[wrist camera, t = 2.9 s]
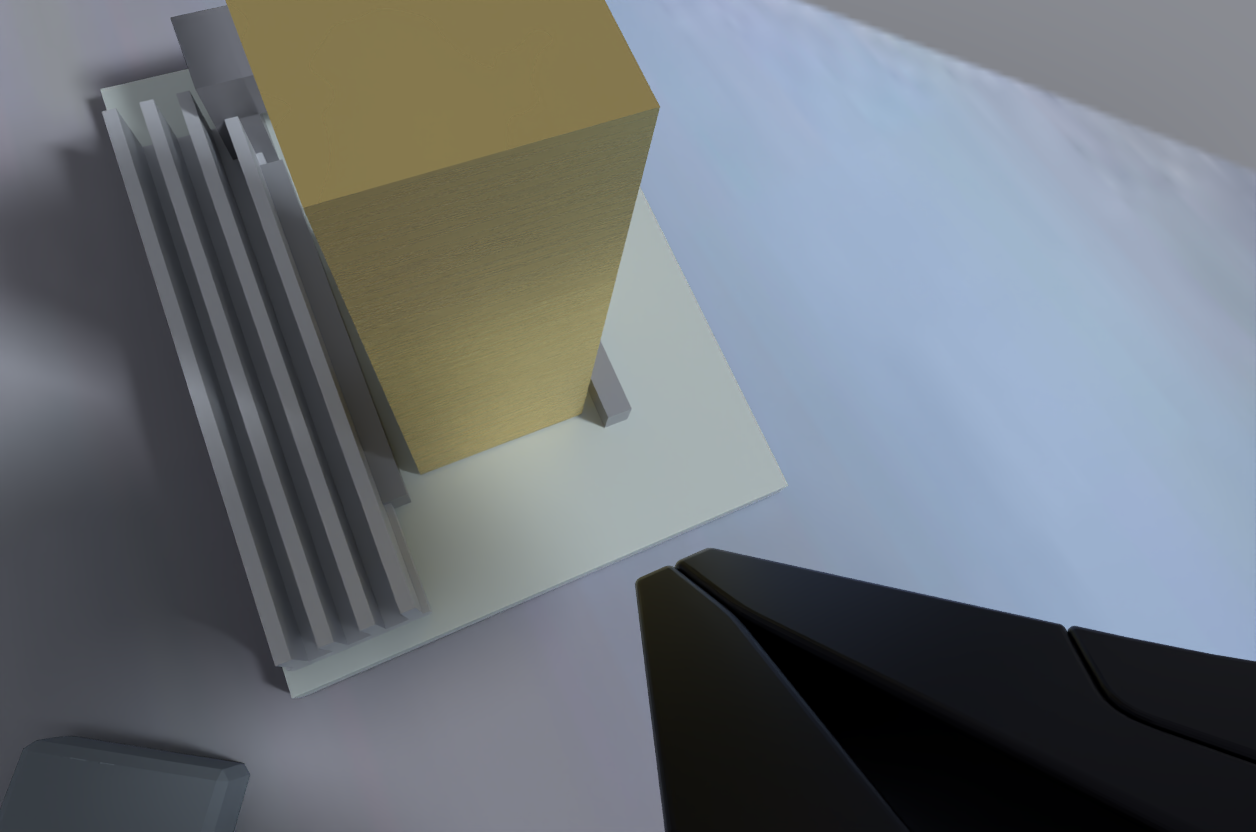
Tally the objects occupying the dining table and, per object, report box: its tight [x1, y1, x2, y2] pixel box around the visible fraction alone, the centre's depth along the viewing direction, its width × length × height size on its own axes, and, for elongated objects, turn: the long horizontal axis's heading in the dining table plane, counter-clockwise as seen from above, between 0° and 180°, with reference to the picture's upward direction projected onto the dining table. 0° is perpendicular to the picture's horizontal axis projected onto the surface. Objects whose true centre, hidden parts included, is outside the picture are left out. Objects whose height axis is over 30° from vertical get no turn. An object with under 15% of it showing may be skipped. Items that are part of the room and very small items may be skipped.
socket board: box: [100, 5, 788, 698], centre depth 19 cm, size 16×12×4 cm
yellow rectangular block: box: [226, 0, 660, 475], centre depth 14 cm, size 6×4×11 cm, turn 24°
